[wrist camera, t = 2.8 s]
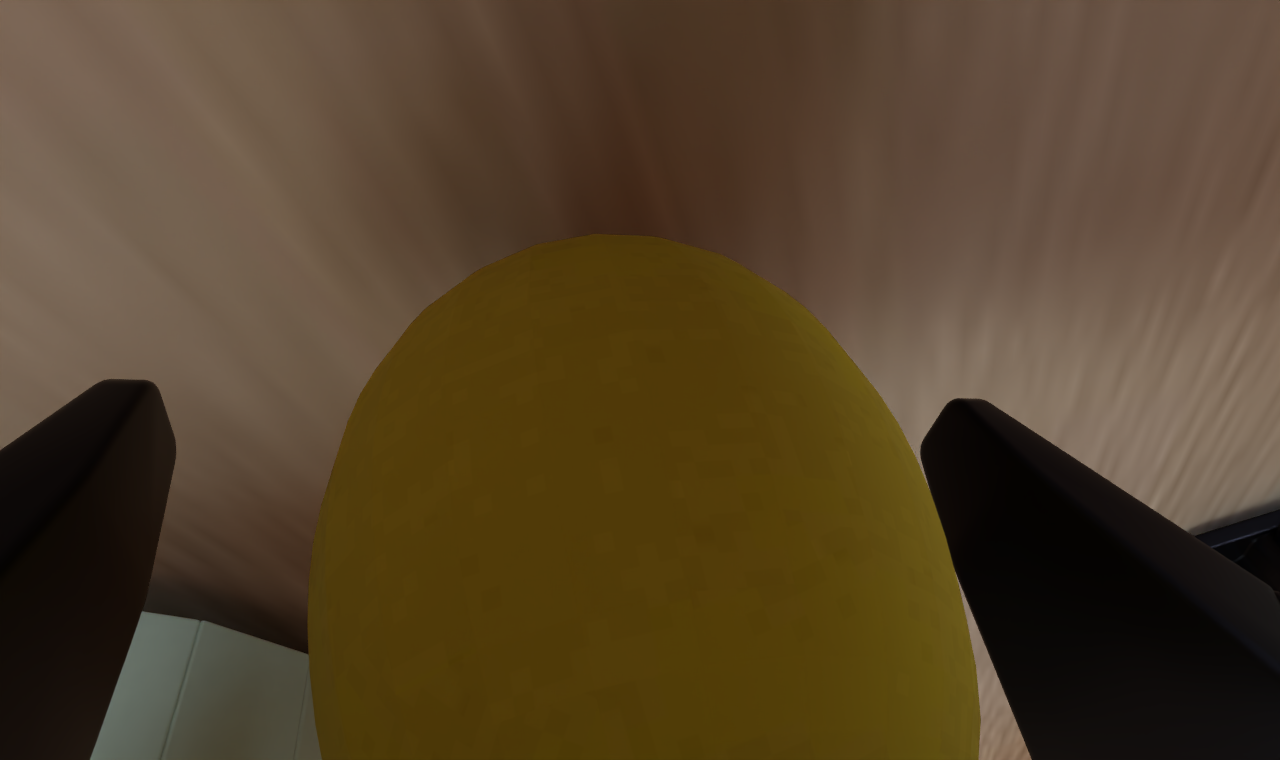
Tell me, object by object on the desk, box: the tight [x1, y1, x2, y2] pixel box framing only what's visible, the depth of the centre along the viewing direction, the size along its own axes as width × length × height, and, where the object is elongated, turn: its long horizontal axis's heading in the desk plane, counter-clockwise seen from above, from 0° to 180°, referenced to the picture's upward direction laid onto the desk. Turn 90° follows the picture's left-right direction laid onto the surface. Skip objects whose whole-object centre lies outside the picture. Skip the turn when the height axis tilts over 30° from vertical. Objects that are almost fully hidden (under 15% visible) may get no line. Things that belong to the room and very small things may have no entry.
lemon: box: [307, 234, 981, 760], centre depth 7 cm, size 6×6×8 cm
